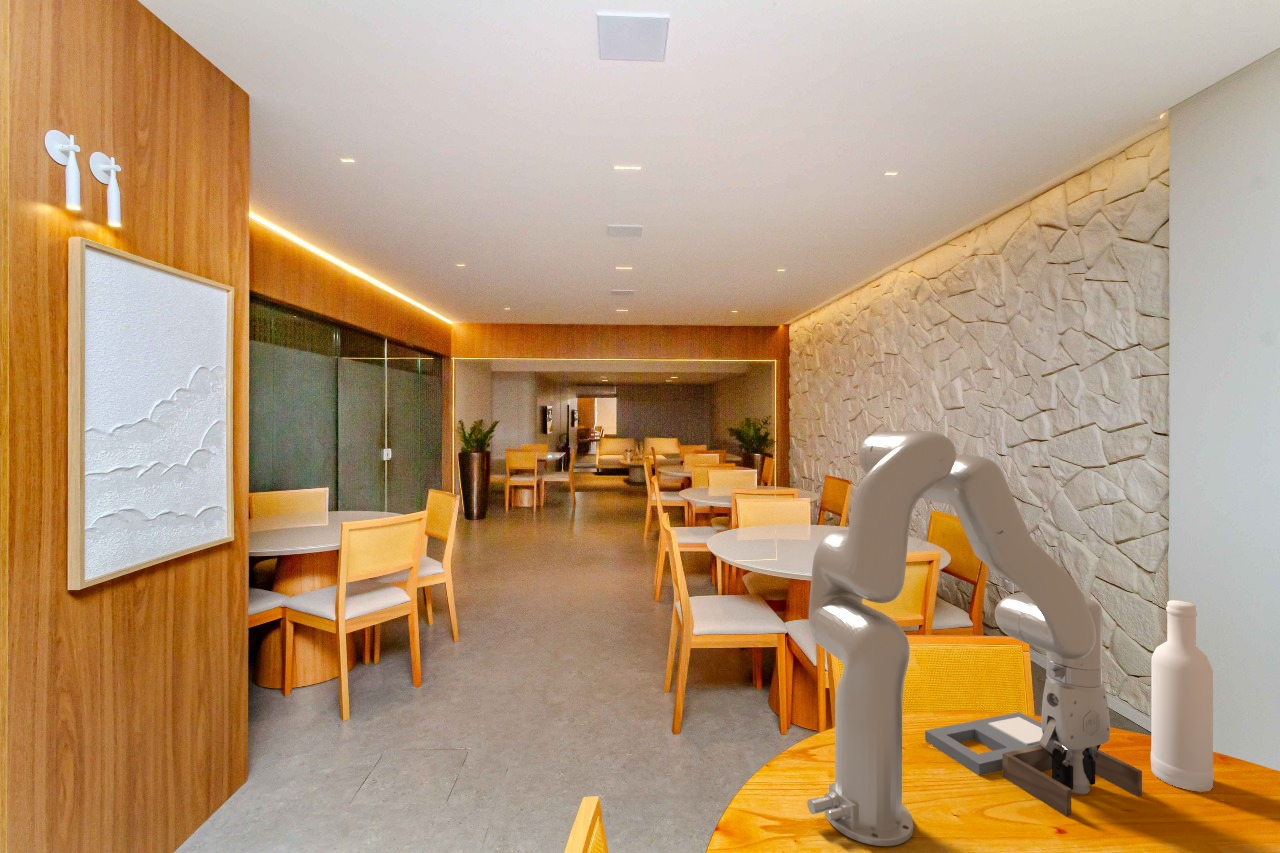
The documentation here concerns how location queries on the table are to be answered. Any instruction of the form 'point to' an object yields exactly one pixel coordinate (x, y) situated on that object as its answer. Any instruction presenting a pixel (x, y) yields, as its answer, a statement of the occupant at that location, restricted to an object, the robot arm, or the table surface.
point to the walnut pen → (1028, 776)
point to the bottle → (1182, 705)
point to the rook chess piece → (1079, 773)
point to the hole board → (986, 740)
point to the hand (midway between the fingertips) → (1073, 781)
